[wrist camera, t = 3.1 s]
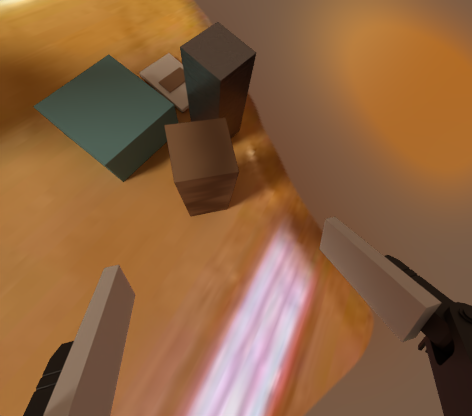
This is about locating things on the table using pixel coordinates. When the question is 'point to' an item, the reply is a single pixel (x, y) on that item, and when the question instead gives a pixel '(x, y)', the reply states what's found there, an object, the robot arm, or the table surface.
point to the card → (168, 80)
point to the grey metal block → (217, 76)
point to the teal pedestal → (111, 116)
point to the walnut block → (202, 164)
